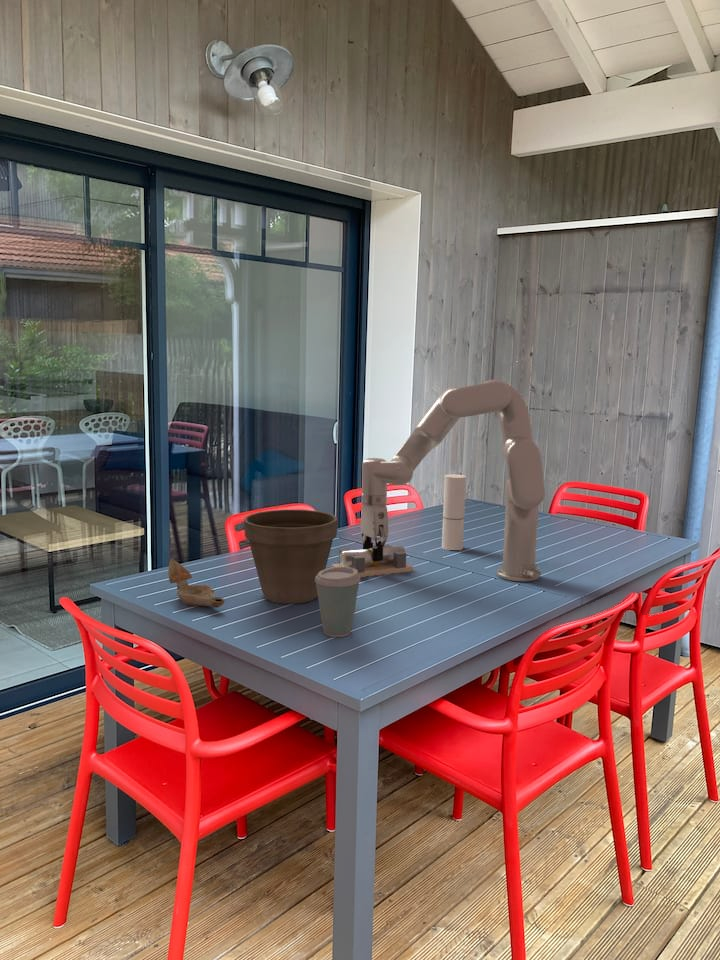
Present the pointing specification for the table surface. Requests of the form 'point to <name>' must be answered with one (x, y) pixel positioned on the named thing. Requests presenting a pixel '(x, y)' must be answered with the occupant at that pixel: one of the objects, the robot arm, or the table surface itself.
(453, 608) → the table surface
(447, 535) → the cylindrical container
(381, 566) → the plate
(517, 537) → the robot arm
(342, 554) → the tube
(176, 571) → the oil lamp
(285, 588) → the plant pot
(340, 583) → the disposable coffee cup
